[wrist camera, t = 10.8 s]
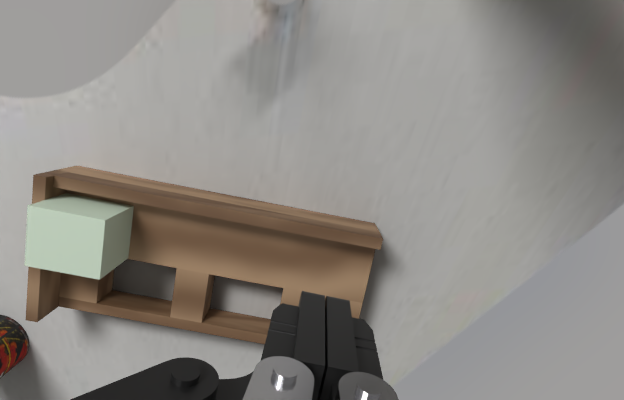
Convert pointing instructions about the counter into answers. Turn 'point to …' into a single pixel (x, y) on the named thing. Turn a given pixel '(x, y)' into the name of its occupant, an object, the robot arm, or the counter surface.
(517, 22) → the counter surface
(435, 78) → the counter surface
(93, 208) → the block
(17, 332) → the deodorant
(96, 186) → the box
